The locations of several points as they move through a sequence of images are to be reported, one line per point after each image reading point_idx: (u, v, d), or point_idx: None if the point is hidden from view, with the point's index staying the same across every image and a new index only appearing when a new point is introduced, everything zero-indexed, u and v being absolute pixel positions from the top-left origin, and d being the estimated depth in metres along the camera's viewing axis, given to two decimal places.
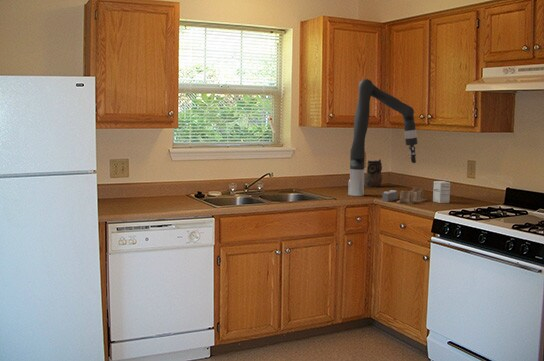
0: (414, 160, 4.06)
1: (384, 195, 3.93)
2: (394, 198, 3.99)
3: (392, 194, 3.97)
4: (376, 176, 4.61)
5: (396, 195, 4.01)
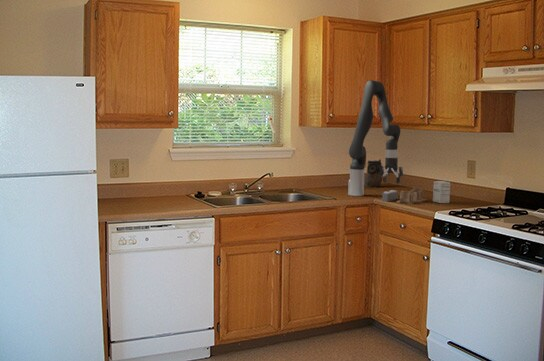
0: (383, 179, 4.00)
1: (384, 195, 3.93)
2: (394, 198, 3.99)
3: (392, 194, 3.97)
4: (376, 176, 4.61)
5: (396, 195, 4.01)
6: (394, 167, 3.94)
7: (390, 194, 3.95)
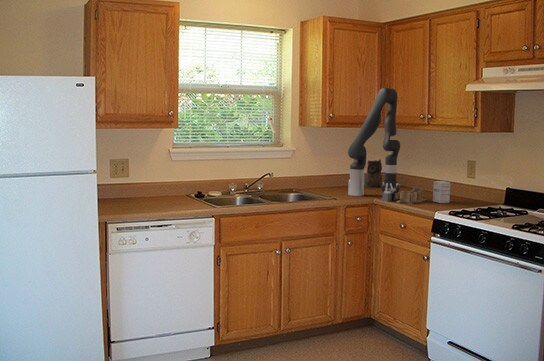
0: None
1: (384, 195, 3.93)
2: None
3: None
4: (376, 176, 4.61)
5: (396, 195, 4.01)
6: (393, 182, 3.95)
7: (390, 194, 3.95)
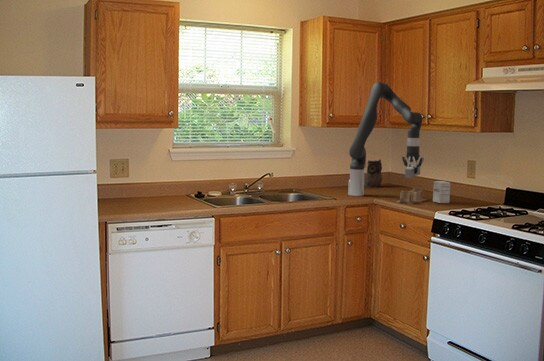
0: None
1: (407, 171, 3.86)
2: (417, 173, 3.93)
3: None
4: (376, 176, 4.61)
5: (419, 170, 3.94)
6: (416, 155, 3.87)
7: (413, 169, 3.88)
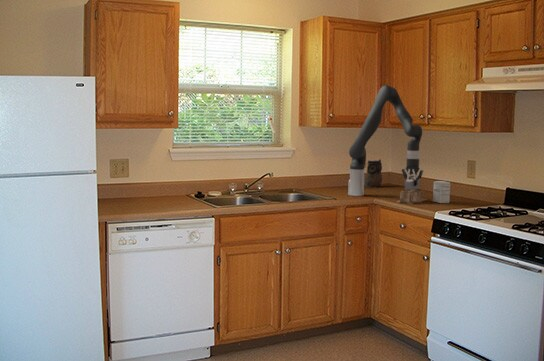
0: None
1: (407, 184, 3.87)
2: None
3: None
4: (376, 176, 4.61)
5: (418, 182, 3.95)
6: (416, 168, 3.88)
7: (413, 182, 3.89)
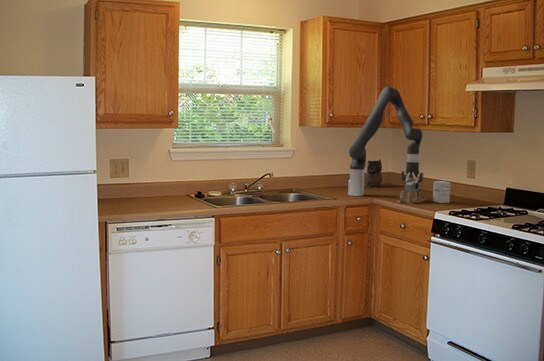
0: None
1: (406, 186, 3.87)
2: (416, 189, 3.94)
3: (414, 185, 3.91)
4: (376, 176, 4.61)
5: None
6: (415, 171, 3.89)
7: (413, 185, 3.89)
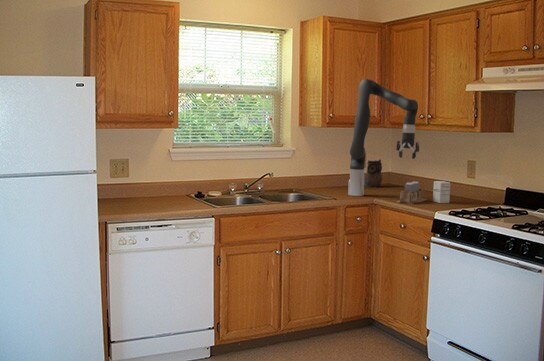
0: (399, 154, 4.00)
1: (406, 186, 3.87)
2: (416, 189, 3.94)
3: (414, 185, 3.91)
4: (376, 176, 4.61)
5: (418, 186, 3.96)
6: (411, 142, 3.94)
7: (413, 185, 3.89)
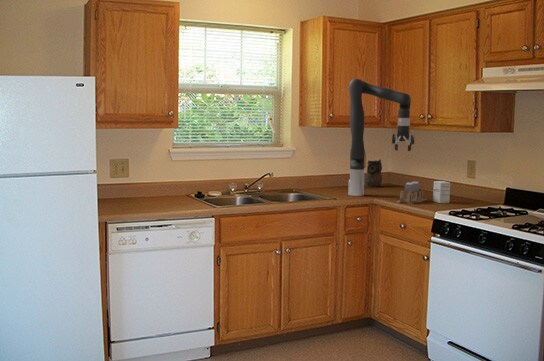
0: (395, 147, 4.08)
1: (406, 186, 3.87)
2: (416, 189, 3.94)
3: (414, 185, 3.91)
4: (376, 176, 4.61)
5: (418, 186, 3.96)
6: (406, 135, 4.02)
7: (413, 185, 3.89)
